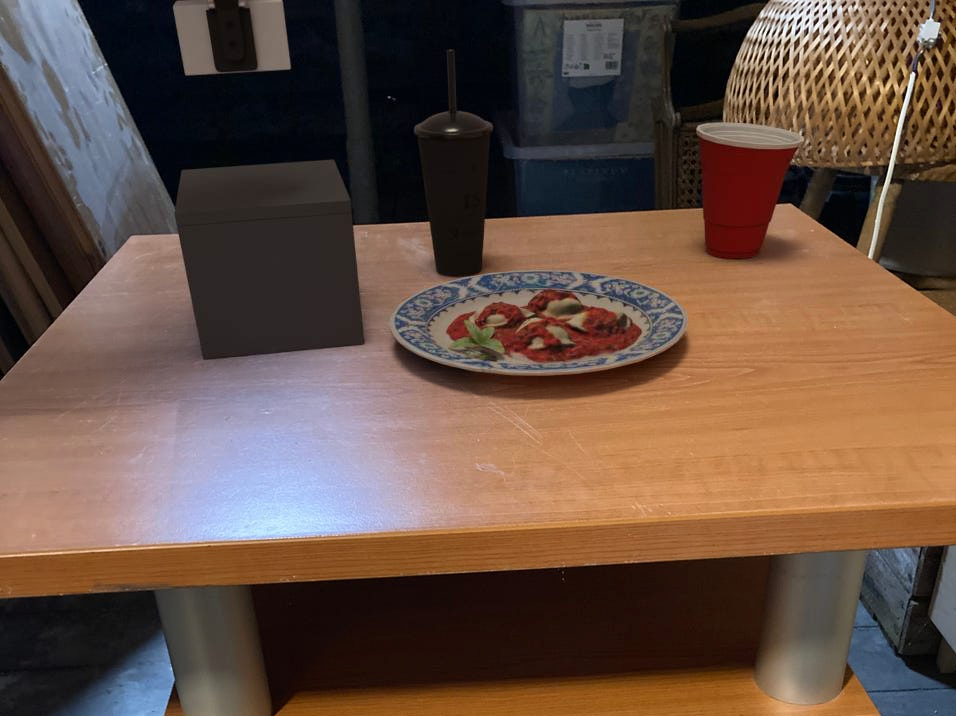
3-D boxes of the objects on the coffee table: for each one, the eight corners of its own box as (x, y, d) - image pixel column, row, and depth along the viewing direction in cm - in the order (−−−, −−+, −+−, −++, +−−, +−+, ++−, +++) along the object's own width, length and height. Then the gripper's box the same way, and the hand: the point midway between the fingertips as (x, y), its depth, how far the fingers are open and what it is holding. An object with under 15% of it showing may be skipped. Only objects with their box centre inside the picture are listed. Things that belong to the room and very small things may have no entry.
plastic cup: (795, 266, 103) (816, 138, 96) (689, 267, 103) (702, 140, 96) (777, 237, 111) (794, 117, 104) (679, 237, 112) (690, 119, 105)
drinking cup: (407, 271, 105) (392, 52, 93) (457, 254, 109) (449, 43, 97) (459, 286, 100) (451, 57, 88) (510, 267, 105) (508, 48, 93)
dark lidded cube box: (203, 359, 86) (174, 213, 79) (206, 301, 99) (181, 169, 91) (364, 344, 88) (350, 199, 81) (347, 288, 101) (334, 159, 93)
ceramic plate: (589, 277, 101) (590, 247, 100) (747, 360, 83) (752, 325, 81) (350, 320, 93) (347, 288, 91) (466, 423, 74) (465, 385, 72)
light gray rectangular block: (185, 75, 76) (172, 5, 73) (187, 67, 79) (175, 0, 77) (291, 69, 77) (282, 0, 74) (288, 62, 80) (280, -5, 78)
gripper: (142, -231, 73) (192, 55, 84) (120, -260, 60) (183, 85, 71) (245, -233, 74) (282, 50, 85) (247, -262, 61) (289, 79, 72)
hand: (236, 63), depth 78 cm, fingers closed on light gray rectangular block, 4 cm apart
